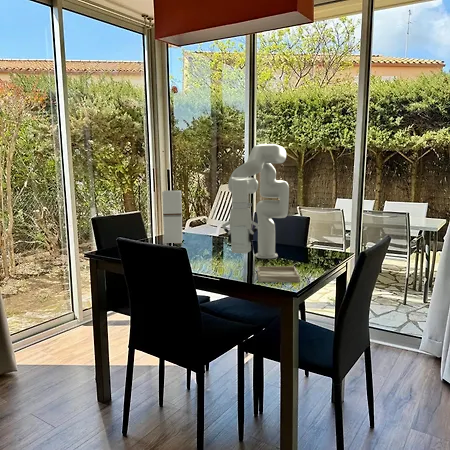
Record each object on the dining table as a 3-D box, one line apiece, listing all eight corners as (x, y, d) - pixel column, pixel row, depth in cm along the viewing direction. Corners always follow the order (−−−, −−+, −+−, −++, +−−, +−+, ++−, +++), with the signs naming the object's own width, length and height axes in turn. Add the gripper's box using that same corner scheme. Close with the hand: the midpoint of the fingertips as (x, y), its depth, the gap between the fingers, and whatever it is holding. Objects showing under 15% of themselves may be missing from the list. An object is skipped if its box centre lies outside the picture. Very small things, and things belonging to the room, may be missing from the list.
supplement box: (251, 250, 197) (251, 224, 195) (245, 254, 190) (245, 227, 188) (236, 249, 200) (236, 223, 198) (230, 252, 193) (230, 226, 191)
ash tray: (257, 271, 200) (257, 266, 200) (294, 271, 200) (295, 266, 199) (258, 281, 183) (258, 276, 182) (299, 282, 182) (299, 276, 181)
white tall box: (182, 243, 276) (181, 190, 271) (182, 246, 266) (180, 191, 261) (165, 243, 275) (163, 190, 270) (164, 246, 265) (162, 191, 260)
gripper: (258, 204, 195) (259, 240, 198) (222, 205, 196) (222, 240, 198) (259, 206, 187) (259, 243, 190) (221, 207, 188) (221, 244, 191)
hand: (240, 242), depth 194 cm, fingers closed on supplement box, 9 cm apart
